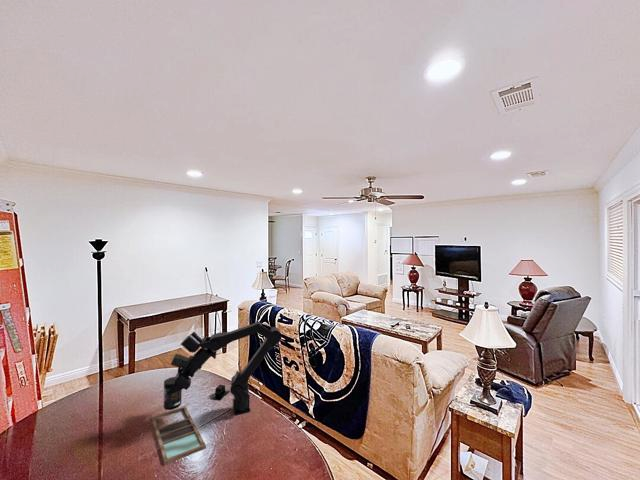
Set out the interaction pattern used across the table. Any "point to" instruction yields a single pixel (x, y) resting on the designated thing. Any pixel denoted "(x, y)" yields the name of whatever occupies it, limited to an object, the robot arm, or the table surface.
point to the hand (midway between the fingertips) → (169, 390)
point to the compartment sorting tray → (178, 437)
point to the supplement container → (171, 395)
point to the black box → (220, 393)
